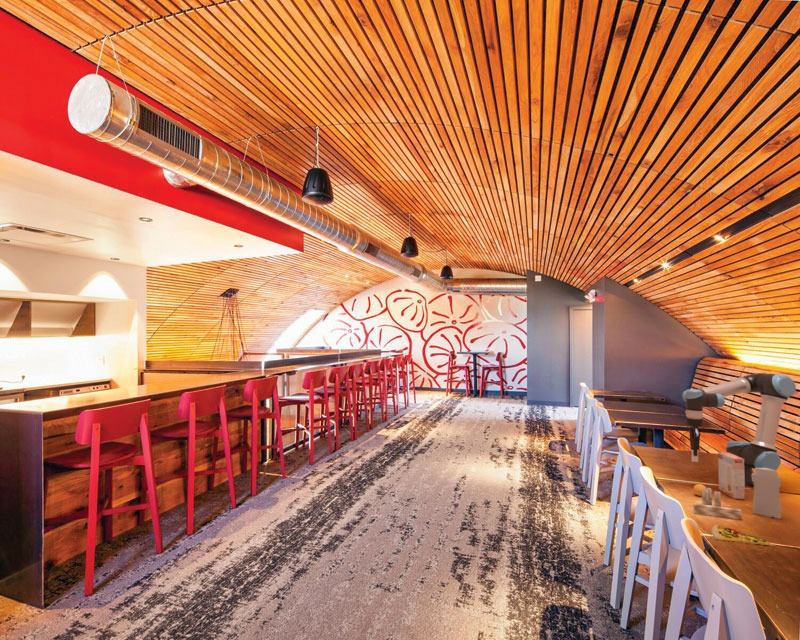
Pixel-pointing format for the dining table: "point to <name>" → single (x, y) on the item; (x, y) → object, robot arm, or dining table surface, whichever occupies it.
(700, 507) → the back wall
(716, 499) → the pin
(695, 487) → the ball
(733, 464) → the cracker box
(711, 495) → the front pin
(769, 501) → the tall pale column
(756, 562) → the dining table surface
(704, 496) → the pin
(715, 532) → the pizza slice
